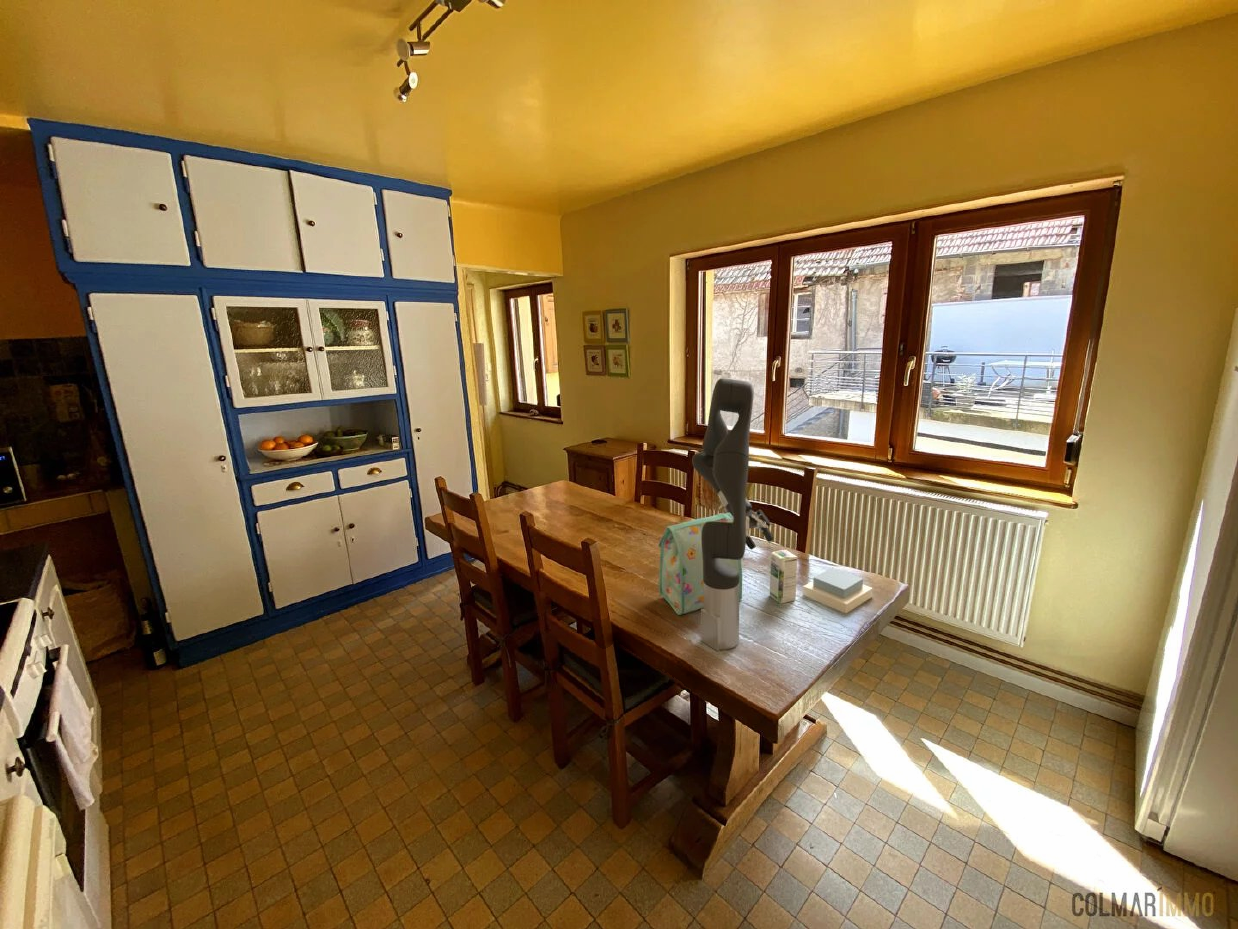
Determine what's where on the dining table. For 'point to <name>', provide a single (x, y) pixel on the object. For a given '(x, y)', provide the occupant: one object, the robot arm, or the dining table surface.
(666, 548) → the lunch bag
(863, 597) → the tower base
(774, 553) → the syrup box
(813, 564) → the dining table surface
